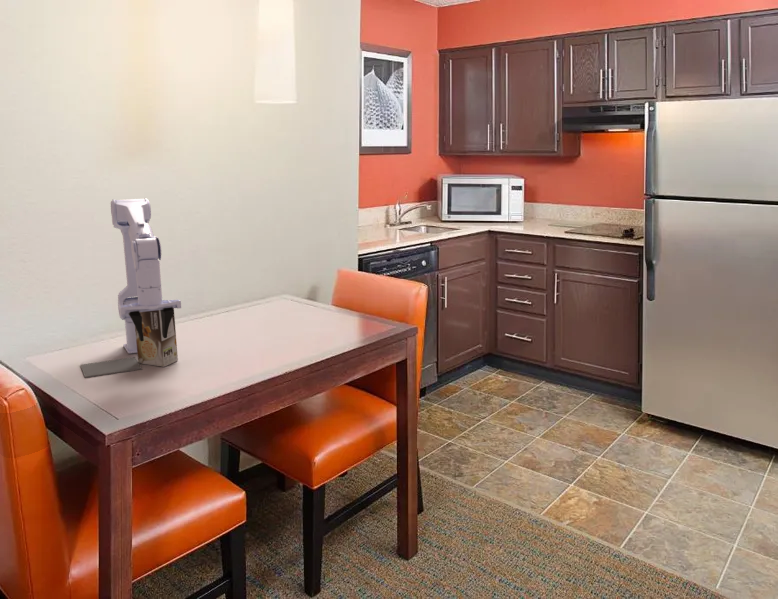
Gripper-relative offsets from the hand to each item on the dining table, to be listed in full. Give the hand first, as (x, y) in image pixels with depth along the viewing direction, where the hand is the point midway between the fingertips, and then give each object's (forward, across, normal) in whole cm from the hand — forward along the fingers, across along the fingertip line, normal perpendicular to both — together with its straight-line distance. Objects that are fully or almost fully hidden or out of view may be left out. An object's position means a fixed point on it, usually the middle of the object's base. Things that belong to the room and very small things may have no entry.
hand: (153, 338), depth 173 cm
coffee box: (+11, +3, +13) cm, 17 cm away
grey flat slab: (+10, -9, +14) cm, 20 cm away
